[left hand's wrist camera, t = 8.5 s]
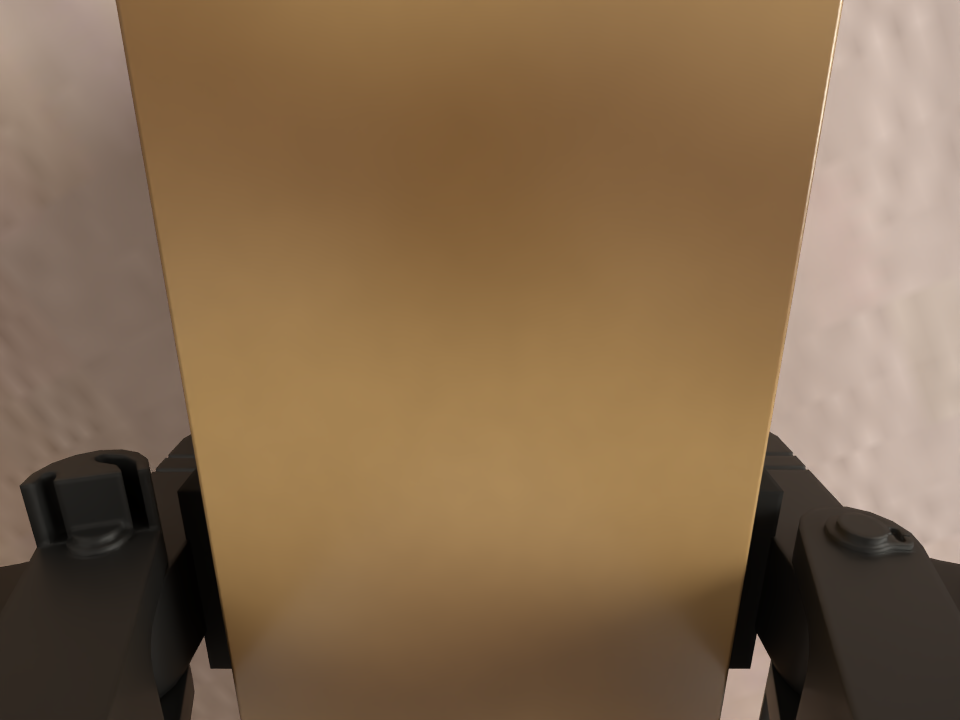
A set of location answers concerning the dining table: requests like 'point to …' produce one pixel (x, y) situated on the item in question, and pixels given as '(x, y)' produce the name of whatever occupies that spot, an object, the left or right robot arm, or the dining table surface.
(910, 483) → the dining table surface
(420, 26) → the post
